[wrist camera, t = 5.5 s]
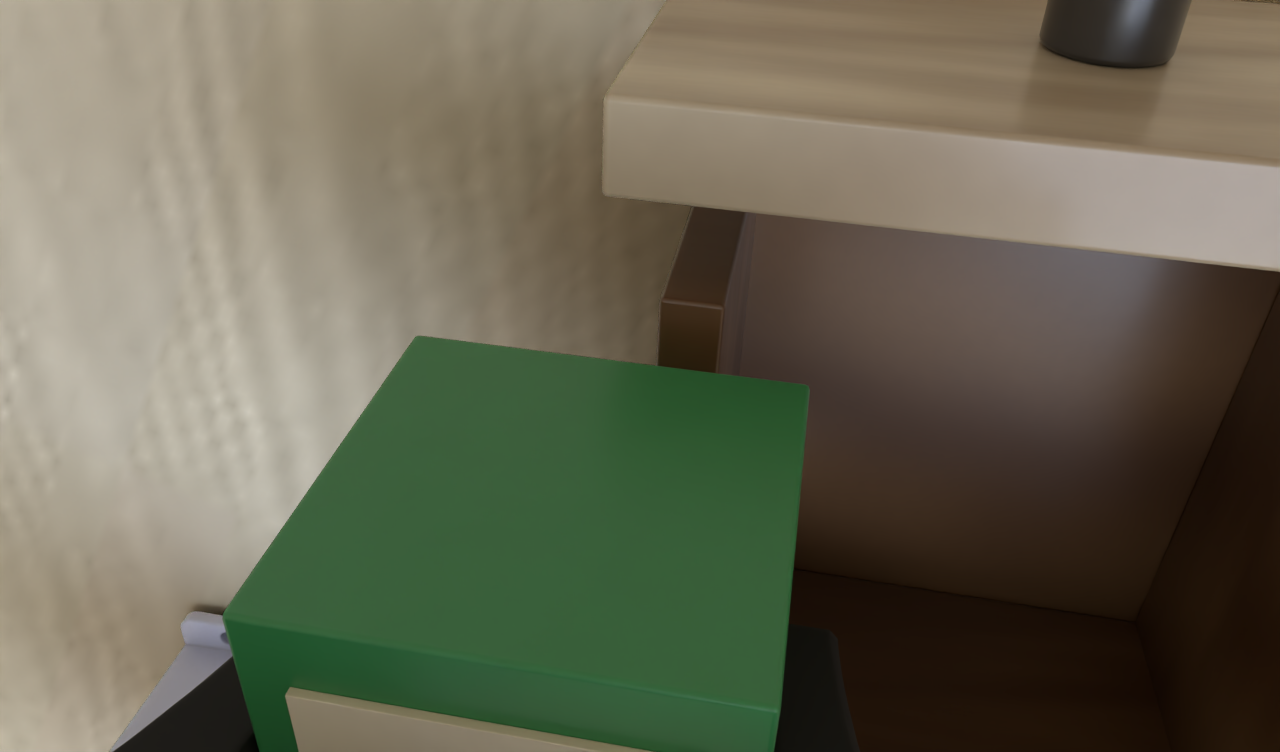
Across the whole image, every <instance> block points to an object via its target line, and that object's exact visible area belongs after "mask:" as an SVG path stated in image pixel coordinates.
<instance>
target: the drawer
mask: <svg viewBox="0 0 1280 752" xmlns="http://www.w3.org/2000/svg"><path fill="white" fill-rule="evenodd" d="M602 191H603V194H604V195H605V196H608V197H616V198H625V199H634V200H643V201H652V202H661V203H670V204H679V205H688V206H692V207H691V210H690V213H689V216H688V219H687V222H686V225H685V228H684V231H683V234H682V236H681V239H680V242H679V245H678V248H677V251H676V254H675V257H674V260H673V263H672V265H671V268H670V271H669V274H668V277H667V280H666V283H665V286H664V289H663V292H662V295H661V297H660V301H659V320H658V338H657V356H656V366H663V367H671V368H679V369H687V370H695V371H703V372H711V373H718V374H726V375H734V376H742V377H750V378H758V379H766V380H774V381H782V382H789V383H797V384H805V385H807V386H808V387H809V389H810V394H809V405H808V416H807V427H806V438H805V449H804V460H803V471H802V482H801V493H800V504H799V515H798V526H797V537H796V548H795V559H794V570H793V581H792V592H791V603H790V614H789V624H795V625H802V626H808V627H814V628H820V629H827V630H830V631H831V632H832V633H833V634H834V635H835V636H836V637H837V639H838V649H839V657H840V664H841V671H842V677H843V682H844V688H845V693H846V697H847V702H848V707H849V711H850V715H851V719H852V723H853V727H854V731H855V735H856V739H857V743H858V746H859V750H860V752H1280V4H1274V3H1262V2H1250V1H1237V0H666V1H665V3H664V4H663V6H662V7H661V9H660V11H659V12H658V14H657V15H656V17H655V18H654V20H653V21H652V23H651V25H650V26H649V28H648V29H647V31H646V32H645V34H644V35H643V37H642V38H641V40H640V42H639V43H638V45H637V46H636V48H635V49H634V51H633V52H632V54H631V55H630V57H629V59H628V60H627V62H626V63H625V65H624V66H623V68H622V69H621V71H620V73H619V74H618V76H617V77H616V79H615V80H614V82H613V83H612V85H611V86H610V88H609V90H608V91H607V93H606V94H605V97H604V99H603V145H602Z"/></svg>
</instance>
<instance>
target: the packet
mask: <svg viewBox="0 0 1280 752" xmlns="http://www.w3.org/2000/svg"><path fill="white" fill-rule="evenodd" d="M809 394H810V389H809V387H808V386H807V385H805V384H797V383H789V382H782V381H774V380H766V379H758V378H750V377H742V376H734V375H726V374H718V373H711V372H703V371H695V370H687V369H679V368H671V367H663V366H655V365H647V364H640V363H632V362H624V361H616V360H608V359H600V358H592V357H584V356H576V355H569V354H561V353H553V352H545V351H537V350H529V349H521V348H513V347H505V346H498V345H490V344H482V343H474V342H466V341H458V340H450V339H442V338H434V337H427V336H416V337H415V338H414V339H413V341H412V342H411V344H410V345H409V347H408V348H407V349H406V351H405V352H404V354H403V355H402V357H401V358H400V359H399V361H398V362H397V364H396V365H395V367H394V368H393V370H392V371H391V372H390V374H389V375H388V377H387V378H386V380H385V381H384V382H383V384H382V385H381V387H380V388H379V390H378V391H377V393H376V394H375V395H374V397H373V398H372V400H371V401H370V403H369V404H368V405H367V407H366V408H365V410H364V411H363V413H362V414H361V415H360V417H359V418H358V420H357V421H356V423H355V424H354V426H353V427H352V428H351V430H350V431H349V433H348V434H347V436H346V437H345V438H344V440H343V441H342V443H341V444H340V446H339V447H338V449H337V450H336V451H335V453H334V454H333V456H332V457H331V459H330V460H329V461H328V463H327V464H326V466H325V467H324V469H323V470H322V472H321V473H320V474H319V476H318V477H317V479H316V480H315V482H314V483H313V484H312V486H311V487H310V489H309V490H308V492H307V493H306V494H305V496H304V497H303V499H302V500H301V502H300V503H299V505H298V506H297V507H296V509H295V510H294V512H293V513H292V515H291V516H290V517H289V519H288V520H287V522H286V523H285V525H284V526H283V528H282V529H281V530H280V532H279V533H278V535H277V536H276V538H275V539H274V540H273V542H272V543H271V545H270V546H269V548H268V549H267V551H266V552H265V553H264V555H263V556H262V558H261V559H260V561H259V562H258V563H257V565H256V566H255V568H254V569H253V571H252V572H251V574H250V575H249V576H248V578H247V579H246V581H245V582H244V584H243V585H242V586H241V588H240V589H239V591H238V592H237V594H236V595H235V596H234V598H233V599H232V601H231V602H230V604H229V605H228V607H227V608H226V609H225V611H224V613H223V618H222V620H223V623H224V627H225V631H226V634H227V638H228V641H229V645H230V649H231V652H232V656H233V659H234V663H235V666H236V670H237V674H238V677H239V681H240V684H241V688H242V691H243V695H244V699H245V702H246V706H247V709H248V713H249V717H250V720H251V724H252V727H253V731H254V734H255V738H256V742H257V745H258V749H259V752H774V749H775V743H776V736H777V730H778V724H779V718H780V711H781V702H782V691H783V680H784V669H785V658H786V647H787V636H788V625H789V614H790V603H791V592H792V581H793V570H794V559H795V548H796V537H797V526H798V515H799V504H800V493H801V482H802V471H803V460H804V449H805V438H806V427H807V416H808V405H809Z"/></svg>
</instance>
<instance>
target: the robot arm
mask: <svg viewBox="0 0 1280 752" xmlns="http://www.w3.org/2000/svg"><path fill="white" fill-rule="evenodd" d="M222 618H223V615H218V614H212V613H206V612H198V611H193V612H191V613H189V614H188V615H187V616H186V618H185V619H184V621H183V622H182V623H181V631H182V635H183V638H184V641H185V644H186V645H185V646H184V647H183V648H182V650H181V651H180V653H179V654H178V655H177V657H176V658H175V660H174V661H173V662H172V664H171V665H170V667H169V668H168V669H167V671H166V672H165V674H164V675H163V676H162V678H161V679H160V681H159V682H158V683H157V685H156V686H155V688H154V689H153V690H152V692H151V693H150V695H149V696H148V698H147V699H146V700H145V702H144V703H143V705H142V706H141V707H140V709H139V710H138V712H137V713H136V714H135V716H134V717H133V719H132V720H131V721H130V723H129V724H128V726H127V727H126V728H125V730H124V731H123V733H122V734H121V735H120V737H119V738H118V740H117V741H116V742H115V744H114V745H113V747H112V748H111V749H110V751H109V752H259V749H258V745H257V742H256V738H255V734H254V731H253V727H252V724H251V720H250V717H249V713H248V709H247V706H246V702H245V699H244V695H243V691H242V688H241V684H240V681H239V677H238V674H237V670H236V666H235V663H234V659H233V656H232V652H231V649H230V645H229V641H228V638H227V634H226V631H225V627H224V623H223V620H222ZM774 752H860V750H859V746H858V743H857V739H856V735H855V731H854V727H853V723H852V719H851V715H850V711H849V707H848V702H847V697H846V693H845V688H844V682H843V677H842V671H841V664H840V657H839V649H838V639H837V637H836V636H835V635H834V634H833V633H832V632H831V631H830V630H827V629H820V628H814V627H808V626H802V625H795V624H789V625H788V636H787V647H786V658H785V669H784V680H783V691H782V702H781V711H780V718H779V724H778V730H777V736H776V743H775V749H774Z"/></svg>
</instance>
